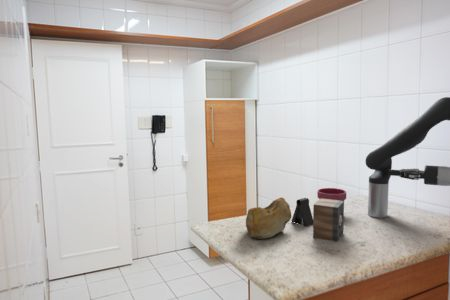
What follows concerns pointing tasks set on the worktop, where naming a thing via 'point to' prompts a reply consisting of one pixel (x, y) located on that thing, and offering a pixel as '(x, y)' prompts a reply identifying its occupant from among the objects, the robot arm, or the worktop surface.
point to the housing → (328, 219)
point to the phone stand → (303, 213)
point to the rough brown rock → (268, 219)
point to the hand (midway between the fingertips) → (388, 172)
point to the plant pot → (332, 194)
